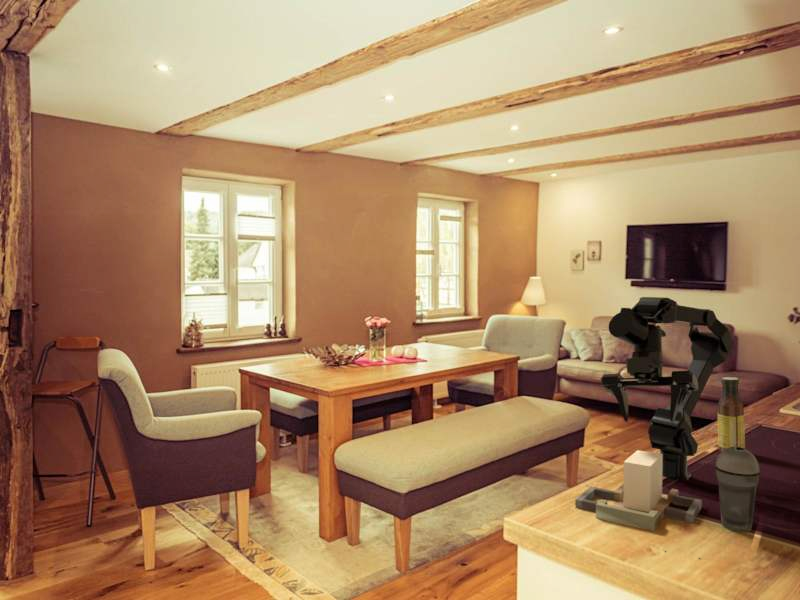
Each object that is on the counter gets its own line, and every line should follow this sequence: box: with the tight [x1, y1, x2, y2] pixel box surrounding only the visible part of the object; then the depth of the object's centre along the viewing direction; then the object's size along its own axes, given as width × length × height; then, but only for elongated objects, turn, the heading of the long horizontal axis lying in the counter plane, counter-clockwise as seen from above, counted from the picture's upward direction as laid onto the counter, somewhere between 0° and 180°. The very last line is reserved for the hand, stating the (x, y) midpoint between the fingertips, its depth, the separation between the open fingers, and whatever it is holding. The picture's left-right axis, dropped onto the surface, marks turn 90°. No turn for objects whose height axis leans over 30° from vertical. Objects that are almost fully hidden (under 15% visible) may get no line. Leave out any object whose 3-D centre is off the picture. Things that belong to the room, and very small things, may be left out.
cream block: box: [623, 449, 663, 512], centre depth 123 cm, size 10×5×9 cm, turn 144°
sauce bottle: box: [717, 376, 746, 453], centre depth 160 cm, size 7×6×20 cm
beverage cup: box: [714, 422, 761, 533], centre depth 110 cm, size 7×7×20 cm
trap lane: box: [574, 482, 703, 532], centre depth 120 cm, size 21×20×4 cm
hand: (648, 421), depth 127 cm, fingers open, 9 cm apart
